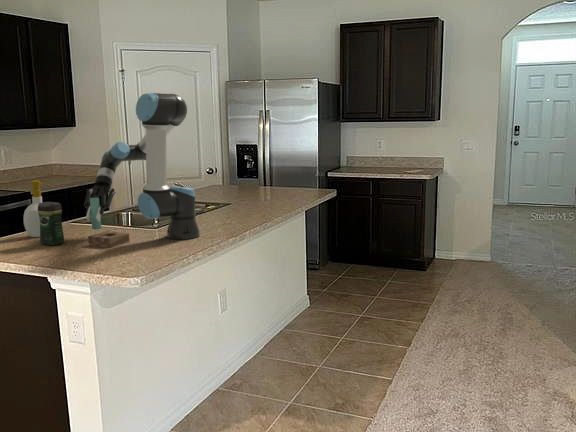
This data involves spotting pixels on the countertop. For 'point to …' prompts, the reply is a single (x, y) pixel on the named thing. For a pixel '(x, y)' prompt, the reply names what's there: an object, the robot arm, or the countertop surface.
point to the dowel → (95, 213)
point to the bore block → (108, 239)
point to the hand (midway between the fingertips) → (92, 219)
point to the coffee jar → (50, 223)
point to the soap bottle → (33, 212)
